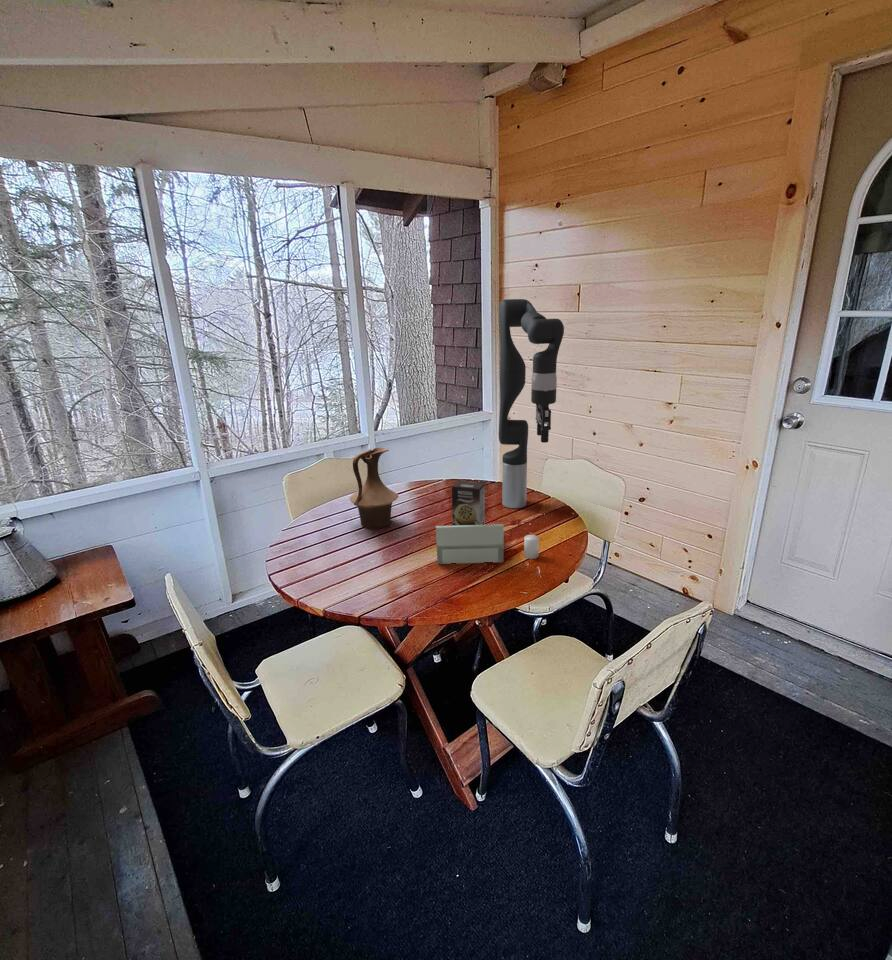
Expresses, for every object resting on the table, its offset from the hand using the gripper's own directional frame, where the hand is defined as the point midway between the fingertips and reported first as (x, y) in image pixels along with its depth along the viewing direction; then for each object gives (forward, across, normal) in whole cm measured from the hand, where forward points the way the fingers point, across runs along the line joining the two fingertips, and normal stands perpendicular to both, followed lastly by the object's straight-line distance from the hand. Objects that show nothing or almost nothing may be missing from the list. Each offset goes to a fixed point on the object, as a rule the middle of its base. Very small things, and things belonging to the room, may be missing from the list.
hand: (542, 438), depth 162 cm
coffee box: (+27, +11, -24) cm, 38 cm away
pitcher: (+33, -11, -58) cm, 67 cm away
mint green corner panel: (+33, +13, -24) cm, 43 cm away
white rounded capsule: (+33, +16, -5) cm, 37 cm away
